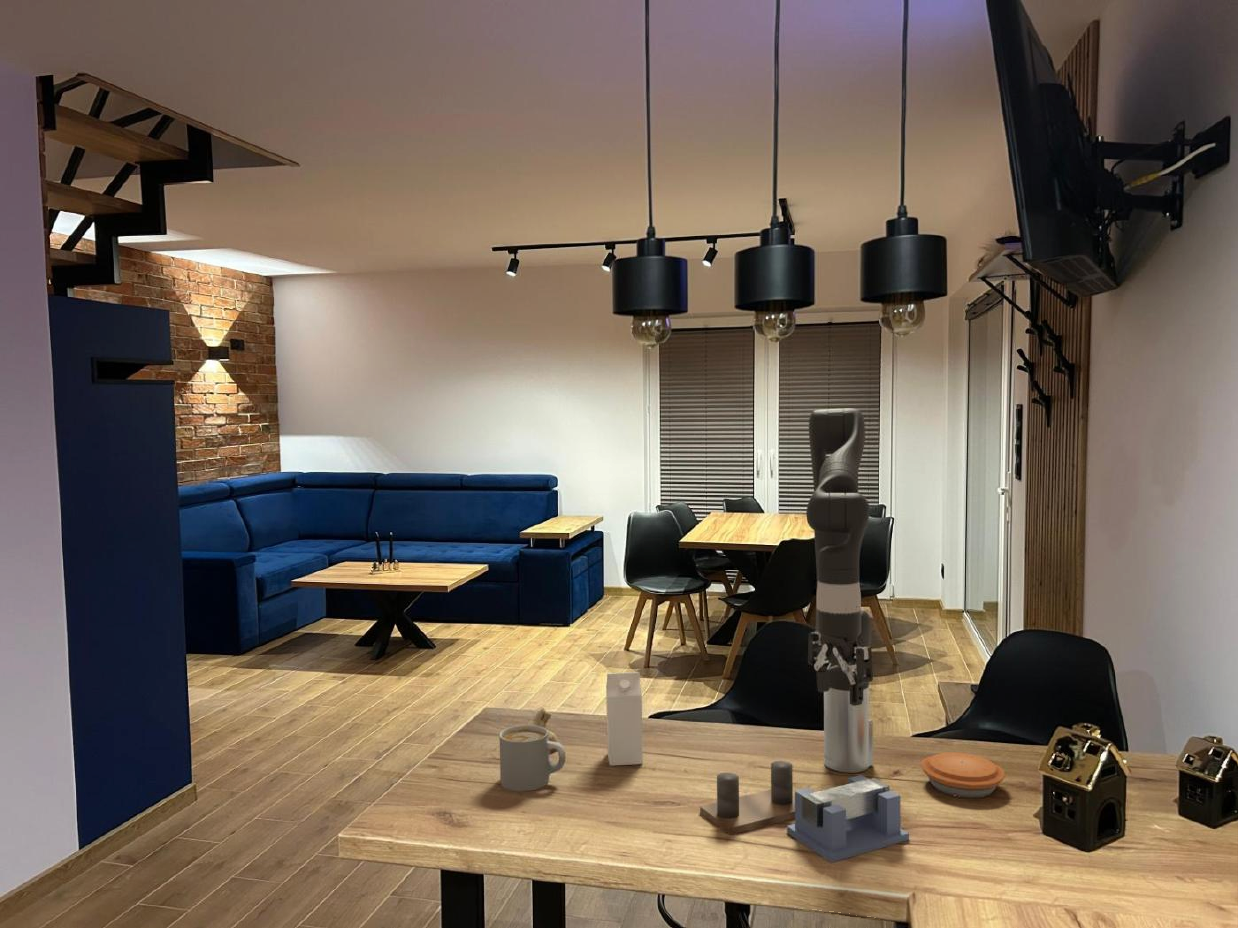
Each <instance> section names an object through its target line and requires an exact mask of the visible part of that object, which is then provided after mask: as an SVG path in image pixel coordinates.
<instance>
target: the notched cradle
mask: <svg viewBox="0 0 1238 928" xmlns="http://www.w3.org/2000/svg"><path fill="white" fill-rule="evenodd" d="M847 779H848V780H847V781H848V782H847V784H851V783H855V782H859V781H863V780H867V779H869V778H868V777H866V776H864V775H862V774H860V775H856V776H851V777H848V778H847ZM814 792H816V791H814V790H813V789H811V788H810V787H806V788H801V789H797V790H795V791H794V797H795V818H794V823H793V824H788V825H786V833H787V834H789V836H791V837H793V838H794V839H795V840H797V841H799V842H801V844H803V845H805V846H806V847H808V848H809V849H810V850H811V851H813V852H814V853H816V854H817V855H819V856H821V857H822V858H824V859H825V860H826V861H828V862H829V863H835V862H838V861H841V860H846V859H849V858H852V857H856V856H859V855H862V854H865V853H869V852H873V851H876V850H879V849H880V850H881V849H883V848H886V847H890V846H892V845H896V844H900V843H904V842H906V841H910V833H909V832H908V831H906V830H905V829H903V828H901V823H902V822H901V813H902V812H901V795H900V794H899V793H897V792H895V791H893V790H890V791H888V792H884V793H880V794H878V811H877V812H873V813H869V814H865V815H862V816H858V817H854V818H851V819H847V820H846V809H844V808H842V807H841V806H839V805H833V806H829V807H825V808H823V826H821V827H815V826H814V825H812V824H811V823H809V822H808V821H806V820H805V819H803V818H802V795H806V794H810V793H814Z"/></svg>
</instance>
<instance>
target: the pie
mask: <svg viewBox="0 0 1238 928" xmlns="http://www.w3.org/2000/svg"><path fill="white" fill-rule="evenodd" d="M920 768H921V769H922V770H923V772H924V773H925V775H926V776H927V777H928V779H929V781H930V783H931V784H932V786H933V788H935V789H936V788H937V789H936V790H937V791H939V790H940V791H939V792H941V791H942V792H941V793H943V792H944V794H946V793H947V794H946V795H949V794H950V795H949V796H952V795H956V796H955V797H957V796H960V797H959V798H962V797H971V798H970V799H974V798H973V797H981V798H984V797H983V796H986V797H988V796H990V795H991V794H992V793H993V792H994V791H995V789H996V788H997V787H998V785H1000V783H1001V782H1002V781H1003V780H1004V779H1005V777H1006V776H1005V773H1006V772H1005V771H1004V769H1003V768H1002V767H1001V766H999V765H997V764H995V763H993V762H992V761H991V760H989V759H987V758H985V757H982V756H979V755H975V754H970V753H964V752H941V753H937V754H933V755H931V756H928V757H925V758H923V759H922V760H921V761H920ZM987 795H988V796H987Z"/></svg>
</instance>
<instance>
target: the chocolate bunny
mask: <svg viewBox="0 0 1238 928" xmlns="http://www.w3.org/2000/svg"><path fill="white" fill-rule="evenodd" d="M551 717H552V713H551V712H549V711H547V710H546V709H545V708H543V707H542V708H541V709H540V710H538V711H537V713H536V715H535V716H534V717H533V718H532V719H531V720H530V721H529V722H527V723H526V725H536V726H540V727H543V728H545V729H547V723H548V722H549V720H550V719H551ZM547 731H548V740H549V741H551V742H557V743H560V741H559V739H558V737H557V735H556V734H555V733H554V732H552V731H550V730H547ZM560 744H561V743H560ZM555 752H557V751H556V750H555V749H551V750H550V754H552V753H555Z"/></svg>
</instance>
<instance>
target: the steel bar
mask: <svg viewBox="0 0 1238 928" xmlns="http://www.w3.org/2000/svg"><path fill="white" fill-rule="evenodd" d="M888 791H891V788H890V785H889V784H887V783H885V782H883V781H881V780H879V779H877V778H875V777H871V778H868V779H867V780H863V781H859V782H855V783H851V784H848V783H847V784H844V785H838V786H835V787H829V788H828V789H827V788H826V789H823V790H818V791H815V792H814V793H810V794H806V795H802V818H803V819H805V820H806V821H808V822H809V823H811V824H812V825H814V826H815V827H821V826H823V808H825V807H829V806H833V805H839V806H841V807H842V808H844V809H846V820H847V819H851V818H854V817H858V816H862V815H865V814H869V813H873V812H877V811H878V794H880V793H884V792H888Z"/></svg>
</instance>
